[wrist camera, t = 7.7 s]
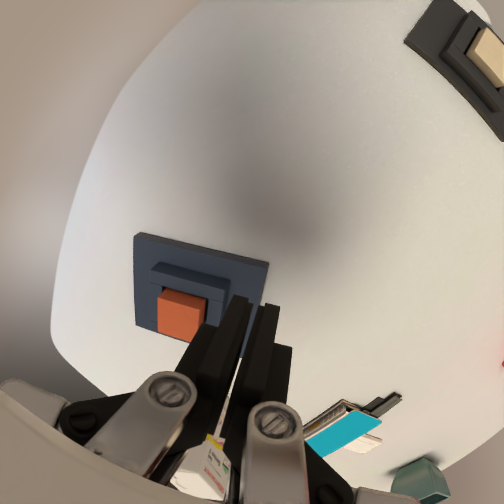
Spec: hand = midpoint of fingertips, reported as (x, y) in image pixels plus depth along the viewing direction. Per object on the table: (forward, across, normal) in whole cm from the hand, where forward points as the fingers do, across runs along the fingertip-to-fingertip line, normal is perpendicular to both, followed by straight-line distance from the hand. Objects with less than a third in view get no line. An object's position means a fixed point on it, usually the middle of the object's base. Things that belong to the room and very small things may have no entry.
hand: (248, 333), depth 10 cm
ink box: (+14, +1, +25) cm, 29 cm away
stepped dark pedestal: (+13, -13, -19) cm, 27 cm away
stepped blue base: (+14, +6, +8) cm, 17 cm away
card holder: (+14, -16, +25) cm, 32 cm away
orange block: (+11, +6, +8) cm, 15 cm away
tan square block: (+11, -13, -19) cm, 26 cm away
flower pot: (+14, -35, +34) cm, 51 cm away
